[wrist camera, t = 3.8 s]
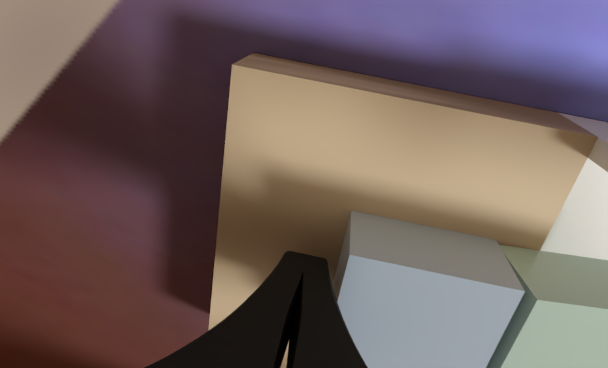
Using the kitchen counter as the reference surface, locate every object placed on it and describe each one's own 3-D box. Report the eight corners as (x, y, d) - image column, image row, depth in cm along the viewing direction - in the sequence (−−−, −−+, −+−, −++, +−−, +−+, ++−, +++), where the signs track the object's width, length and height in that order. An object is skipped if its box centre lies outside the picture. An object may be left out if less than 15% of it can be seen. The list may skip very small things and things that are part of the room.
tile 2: (449, 345, 14) (465, 407, 12) (324, 318, 15) (318, 374, 12) (496, 239, 12) (525, 291, 10) (351, 210, 13) (349, 254, 10)
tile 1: (571, 364, 15) (616, 430, 12) (449, 349, 14) (475, 414, 12) (636, 264, 13) (704, 322, 10) (497, 244, 12) (537, 299, 10)
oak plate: (440, 369, 18) (451, 421, 16) (224, 320, 19) (205, 365, 16) (557, 112, 13) (598, 137, 11) (253, 52, 13) (232, 64, 11)
